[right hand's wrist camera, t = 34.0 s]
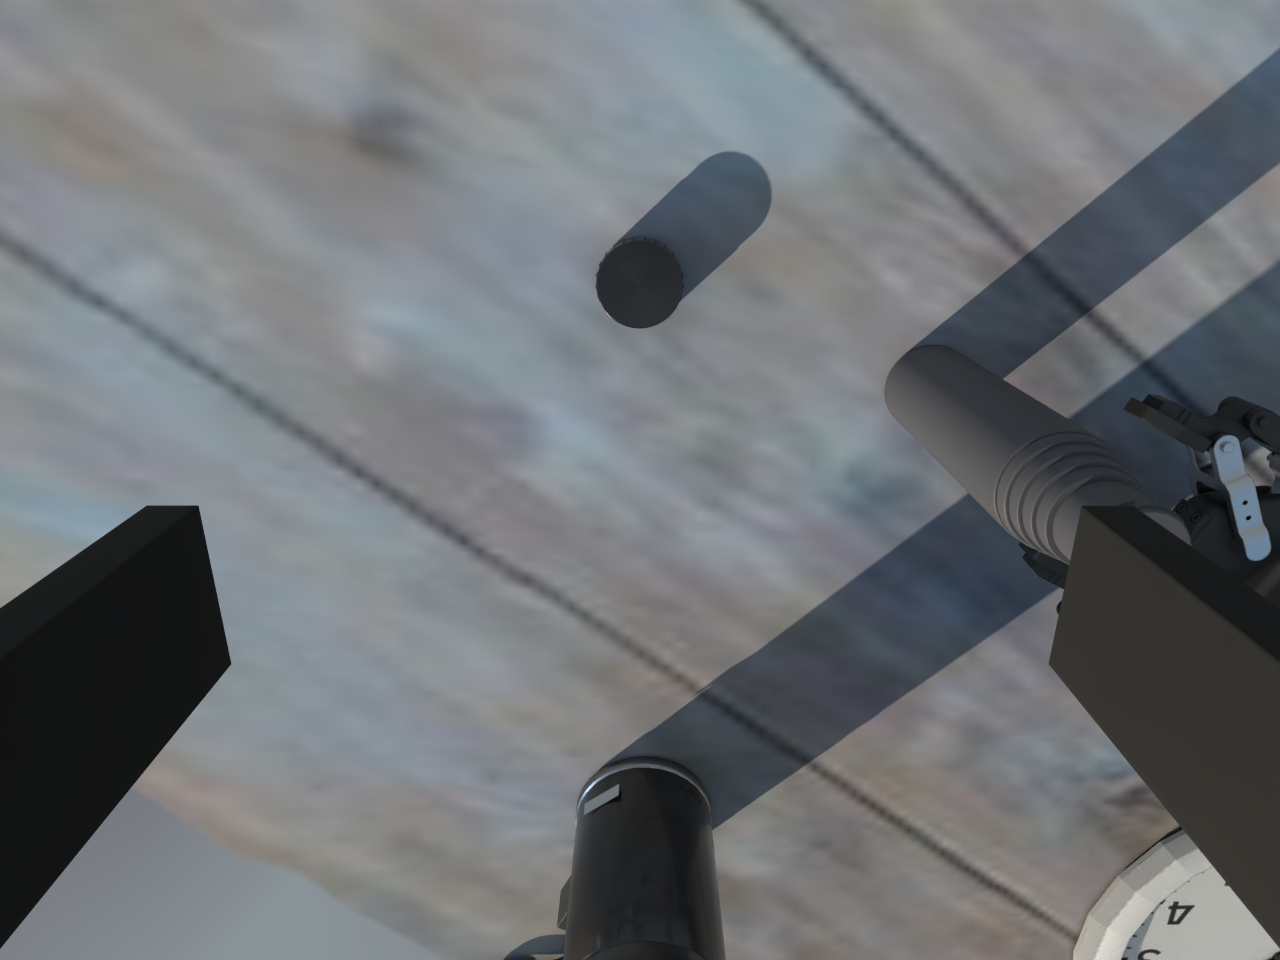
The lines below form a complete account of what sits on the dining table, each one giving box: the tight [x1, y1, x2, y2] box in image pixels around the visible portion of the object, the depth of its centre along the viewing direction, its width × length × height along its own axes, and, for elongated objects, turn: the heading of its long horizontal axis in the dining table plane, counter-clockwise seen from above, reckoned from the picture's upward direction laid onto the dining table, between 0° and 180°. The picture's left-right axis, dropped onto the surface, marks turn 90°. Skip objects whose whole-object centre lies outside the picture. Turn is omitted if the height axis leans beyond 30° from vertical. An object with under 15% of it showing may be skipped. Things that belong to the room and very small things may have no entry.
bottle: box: [885, 345, 1192, 565], centre depth 37 cm, size 5×5×22 cm
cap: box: [596, 237, 684, 328], centre depth 44 cm, size 5×5×2 cm
